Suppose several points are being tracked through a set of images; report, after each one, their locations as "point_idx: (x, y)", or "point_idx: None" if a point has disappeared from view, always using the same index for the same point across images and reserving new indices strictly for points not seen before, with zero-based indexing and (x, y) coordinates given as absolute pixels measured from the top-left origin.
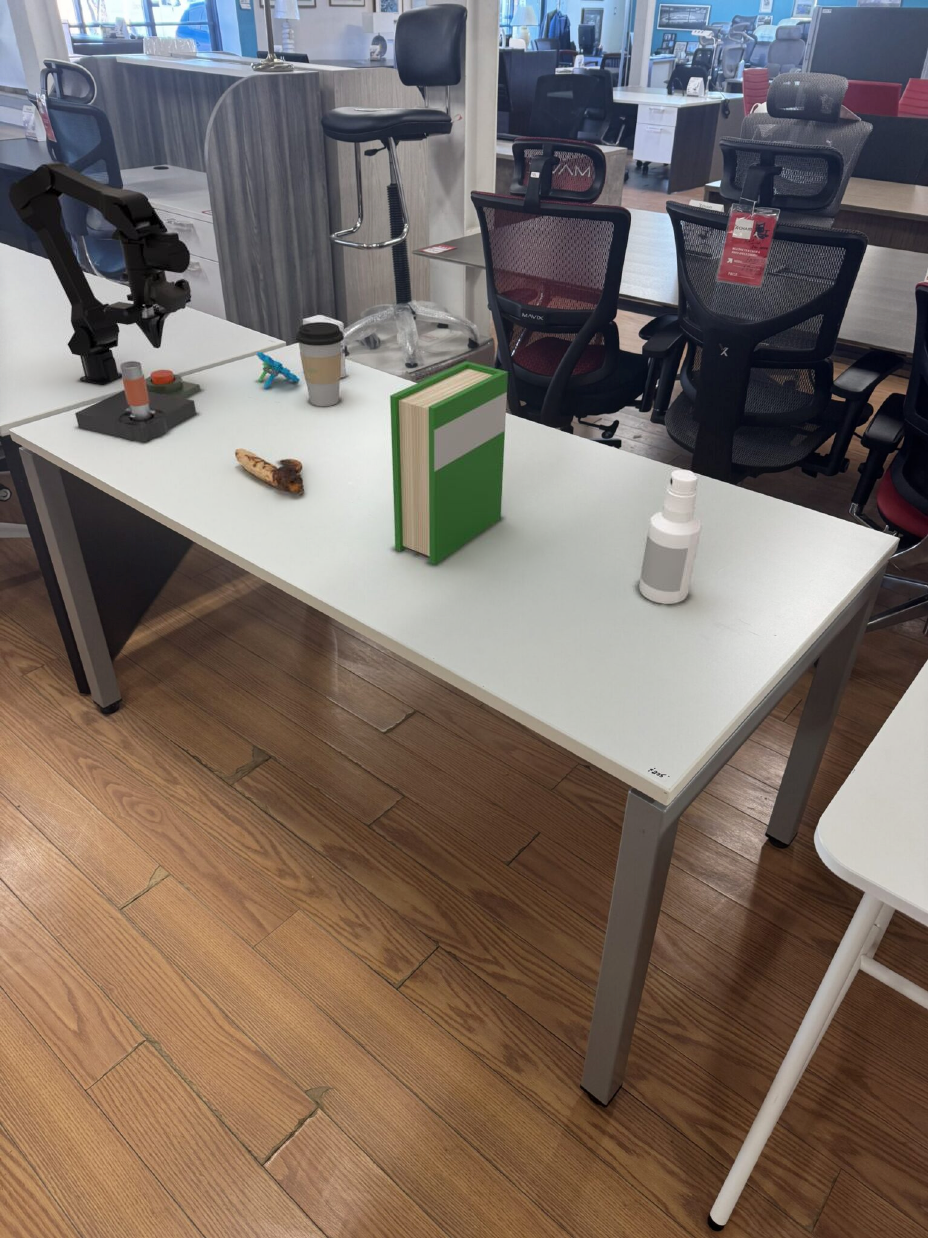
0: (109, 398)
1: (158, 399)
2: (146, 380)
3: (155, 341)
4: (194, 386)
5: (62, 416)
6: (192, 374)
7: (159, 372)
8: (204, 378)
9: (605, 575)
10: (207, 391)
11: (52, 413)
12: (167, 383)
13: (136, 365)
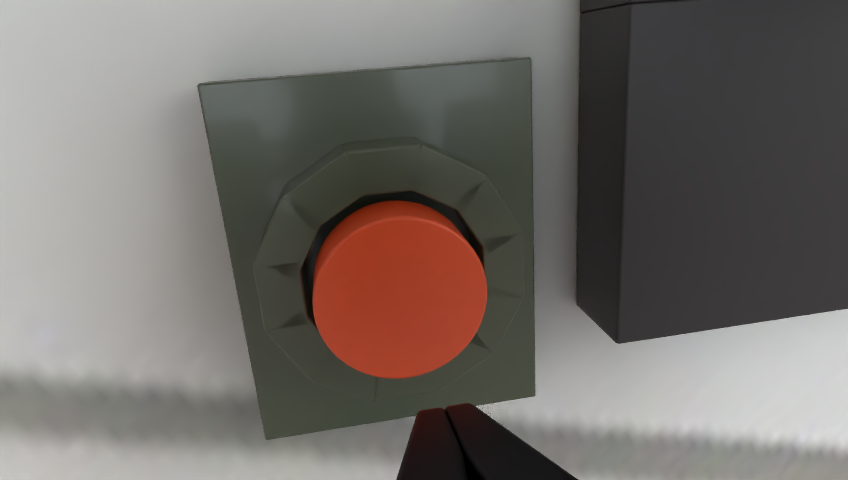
0: (808, 298)
1: (727, 1)
2: (467, 359)
3: (531, 447)
4: (255, 87)
5: (843, 416)
6: (12, 365)
7: (401, 326)
8: (3, 242)
9: None
10: (183, 27)
11: (826, 473)
12: (439, 194)
13: None
